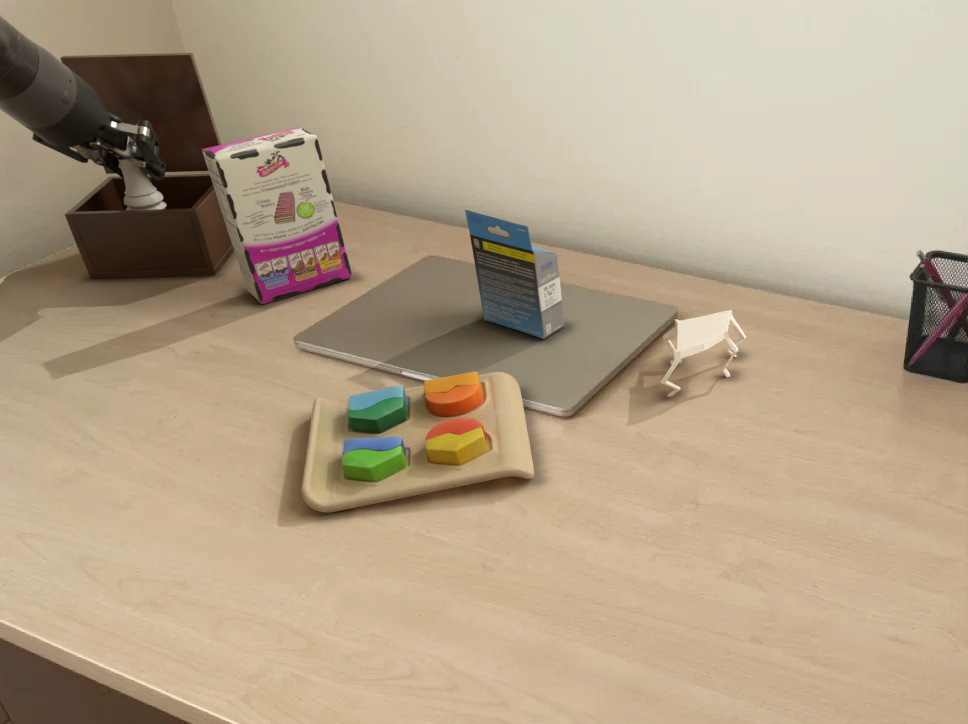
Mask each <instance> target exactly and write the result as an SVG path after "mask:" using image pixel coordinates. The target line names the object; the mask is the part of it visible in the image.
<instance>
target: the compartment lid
mask: <svg viewBox="0 0 968 724" xmlns="http://www.w3.org/2000/svg"><path fill="white" fill-rule="evenodd" d="M194 56H195V55H194V53H193V52H172V53H171V52H169V53H168V52H167V53H166V52H165V53H133V54H132V53H129V54H128V53H127V54H123V53H122V54H87V55H86V54H85V55H84V54H83V55H82V54H81V55H62V56H61V57H60V61H61V62H62V63H63V64H64V65H65V66H67V67H68V68H69V69H70V70H72V71H73V72H74V73H75V74H76V75H78V76H79V77H80V78H81V79H83V80H84V81H85V82H86V83H87V84H89V85H90V86H91V87H92V88H93V89H94V90H95V91H96V92H97V94H98V95H99V97H100V99H101V101H102V103H103V106H104V107H105V109H106V111H108V112H110V113H112V114H114V115H116V116H118V117H119V118H121V120H122V121H123V123H126V124H131V125H136V124H138V120H139V119H143V120H147V121H149V122H150V123H151V125H152V127H153V129H154V131H155V133H156V135H157V138H158V140H159V142H160V149H159V156H158V158H159V159H161V160H162V161H163V162H164V163H165V164H166V169H165V173H185V172H186V173H188V172H189V173H190V172H209V171H208V167H207V165H206V162H205V159H204V155H203V152H202V149H205V148H210V147H214V146H219V145H223V144H222V141H221V138H220V135H219V132H218V128H217V125H216V122H215V119H214V116H213V113H212V110H211V107H210V104H209V101H208V97H207V95H206V91H205V88H204V84H203V81H202V78H201V75H200V73H199V68H198V66H197V62H196V60H195V57H194ZM102 167H103V169H104V172H105V174H106V175H115V174H116V173H115V172H113V171H112V170H110V169H109V168H108V167H106V166H102ZM116 175H117V174H116Z"/></svg>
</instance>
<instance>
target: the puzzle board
mask: <svg viewBox="0 0 968 724" xmlns="http://www.w3.org/2000/svg"><path fill="white" fill-rule="evenodd" d="M521 391H522V390H521V387H520V383H518V381H517V380H516V378H514V376H513V375H511V374H509V373H506V372H503V371H492V372H487V373H482V374H478V371H469V372H465V373H464V372H463V373H460V374H459V373H458V374H454V375H447V376H443V377H437V378H432V379H431V378H430V379H426V380H424V381H423V385H417V386H413V387H408V388H407V387H406V388H404V385H396V386H391V387H386V388H381V389H378V390H371V391H365V392H362V393H357V394H356V393H355V394H351V395H349V397H348V399H345V400H331V399H327V398H324V397H317V398H315V399H314V401H313V402H312V403H313V404H312V410H311V417H310V418H311V419H310V425H309V432H308V438H307V446H306V452H305V458H304V459H305V461H304V468H303V474H302V481H301V488H300V489H301V496H302V499H303V501H304V502H305V504H306V505H307V506H308V507H309V508H311V509H312V510H314V511H316V512H320V513H336V512H341V511H345V510H351V509H355V508H359V507H365V506H370V505H376V504H380V503H384V502H390V501H395V500H400V499H405V498H408V497H415V496H420V495H425V494H428V493H434V492H439V491H444V490H448V489H453V488H458V487H463V486H468V485H473V484H478V483H483V482H488V481H493V480H499V479H503V478H509V477H515V478H521V479H524V480H531V479H533V478H534V476H535V468H534V462H533V461H534V460H533V457H532V449H531V443H530V438H529V431H528V426H527V420H526V415H525V407H524V403H523V402H524V401H523V397H522V392H521Z"/></svg>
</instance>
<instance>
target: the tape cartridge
mask: <svg viewBox="0 0 968 724" xmlns="http://www.w3.org/2000/svg"><path fill="white" fill-rule="evenodd" d="M464 212H465V217H466V223H467V227H468V231H469V237H470V238H469V239H470V243H471V244H470V245H471V247H472V248H471V249H472V256H473V261H474V268H475V273H476V279H477V286H478V291H479V297H480V304H481V309H482V317H483V320H484V321H485V322H488V323H492V324H496V325H500V326H503V327H506V328H508V329H512V330H516V331H518V332H521V333H523V334H524V333H525V334H527V335H531V336H534V337H537V338H539V339H542V340H545V339H547V338H548V337H550V336H552V335H553V334H554V333H556V332H558V331H560V330H562V329H564V327H565V316H564V306H563V305H564V304H563V297H562V296H563V295H562V288H561V287H562V286H561V279H560V270H559V260H558V254H557V252H553V251H549V250H546V249H542V248H539V247H535V246H532V241H531V237H530V235H531V234H530V230H529V226H527V225H523V224H520V223H516V222H512V221H509V220H505V219H502V218H497V217H493V216H491V215H486V214H482V213H479V212H475V211H472V210H468V209H464ZM496 227H498V228H499V229H500V230H501V231H504V232H506V233H507V234H508V236H505V235H502V234H498V233H496V232H495V233H494V232H491V231H490V230H489V228H493V229H495V228H496Z"/></svg>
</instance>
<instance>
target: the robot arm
mask: <svg viewBox="0 0 968 724" xmlns="http://www.w3.org/2000/svg"><path fill="white" fill-rule="evenodd" d="M0 110H1V111H2V112H3V113H5V114H6V115H7V116H8V117H10V118H12V119H13V120H15V121H16V122H17V123H19V124H20V125H21V126H23V127H24V128H26V129H27V130H29V131H30V132H32V138H31V139H32V140H33V141H34V142H36V143H38V144H40V145H43V146H45V147H47V148H49V149H51V150H54V151H55V152H58V153H59V154H62V155H64V156H67V157H68V158H71V159H73V160H75V161H77V162H79V163H82V164H87V163H89V160H91V161H92V162H93V163H94V164H95V165H97V166H100V167H103V166H106V167H108V168H109V169H110V170H112V171H113V172H115V173H116V175H118V176H120V177H122V178H123V179H124V176H123V173H122V170H121V168H119V167H118V165H119V160H128V161H130V162H132V163H133V164H135V165H137V166H138V167H139V168H140V169H141V170H143V171H144V172H145V173H147V175H148V176H151V177H152V178H153V179H155V180H163V179H164V176H165V175H166V172H165V169H166V164H165V163H164V162H163V161H162V160H161V159H159V158H158V156H159V149H160V142H159V140H158V138H157V135H156V133H155V131H154V129H153V127H152V125H151V123H150V122H149V121H147V120H143V119H139V120H138V124H136V125H131V124H126V123H123V121H122V120H121V118H119V117H118V116H116V115H114V114H112V113H110V112H108V111H106V109H105V107H104V106H103V103H102V101H101V99H100V97H99V95H98V94H97V92H96V91H95V90H94V89H93V88H92V87H91V86H90V85H89V84H87V83H86V82H85V81H84V80H83V79H81V78H80V77H79V76H78V75H76V74H75V73H74V72H73V71H72V70H70V69H69V68H68V67H67V66H65V65H64V64H63V63H62V61H61V60H59V59H58V58H57V57H56V56H54V54H52V53H51V52H49V51H48V50H47V49H45V48H44V47H43V46H42V45H39V44H38V43H36V42H34V41H32V40H31V39H30V38H28V36H26V35H25V34H24V33H22V32H21V31H20V30H19V29H17V28H16V27H15V26H14V25H12V24H11V23H10V21H8V20H7V19H5V18H4V17H3V16H2V15H1V14H0ZM133 146H135V147H136V154H133V152H132V148H133ZM74 149H75V150H74ZM118 159H119V160H118Z"/></svg>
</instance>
